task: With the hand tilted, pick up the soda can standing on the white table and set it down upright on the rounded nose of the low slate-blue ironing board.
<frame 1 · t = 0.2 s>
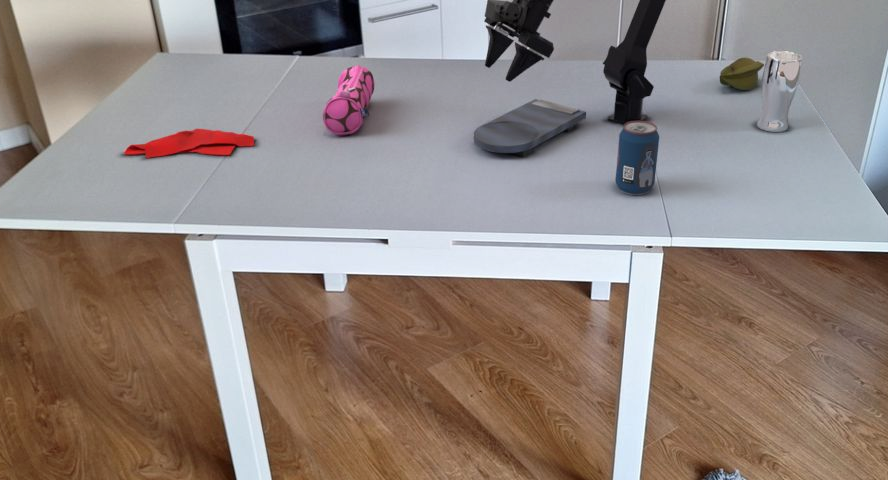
hand: (497, 73, 176), 15 cm above the table, tool tilted 30°, fingers open, 9 cm apart
beer glass: (772, 127, 187), on the table
cloth: (193, 145, 188), on the table
ironing board: (524, 137, 186), on the table
soda can: (634, 189, 164), on the table
pencil case: (352, 120, 197), on the table
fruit: (737, 87, 209), on the table
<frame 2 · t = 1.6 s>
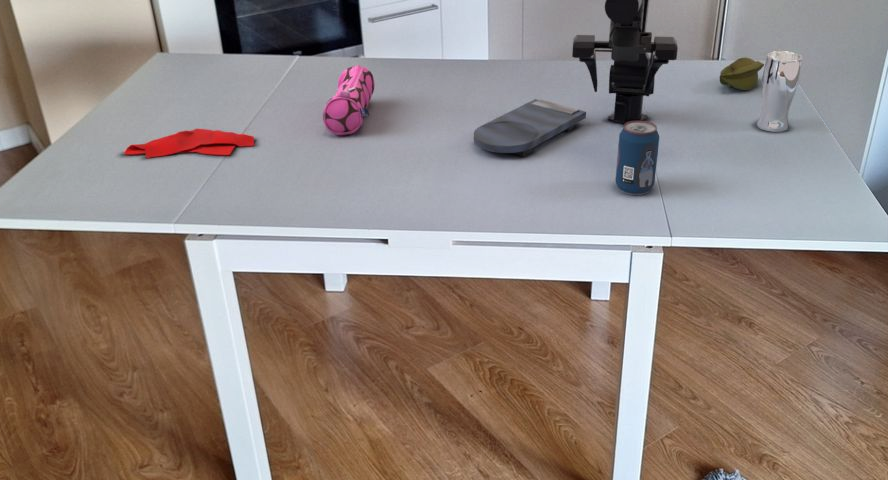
hand: (620, 92, 170), 13 cm above the table, tool pointing down, fingers open, 9 cm apart
nothing on the table moved.
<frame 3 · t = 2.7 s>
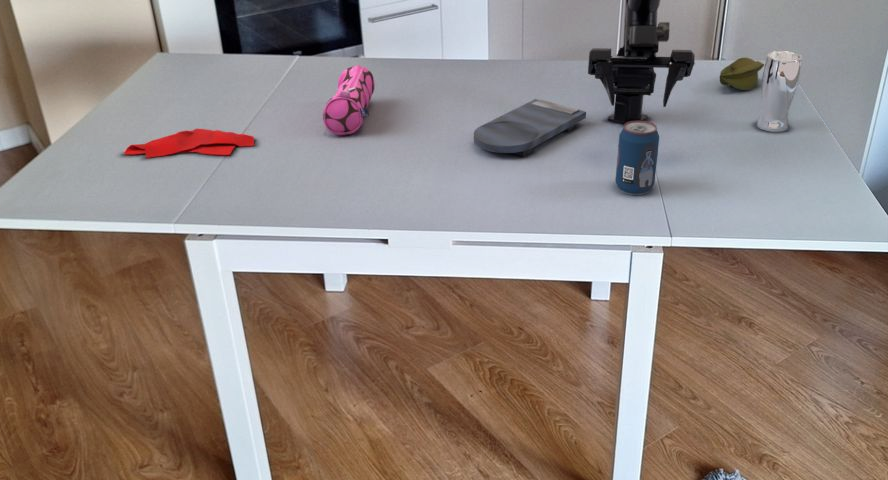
hand: (638, 105, 163), 13 cm above the table, tool tilted 45°, fingers open, 9 cm apart
nothing on the table moved.
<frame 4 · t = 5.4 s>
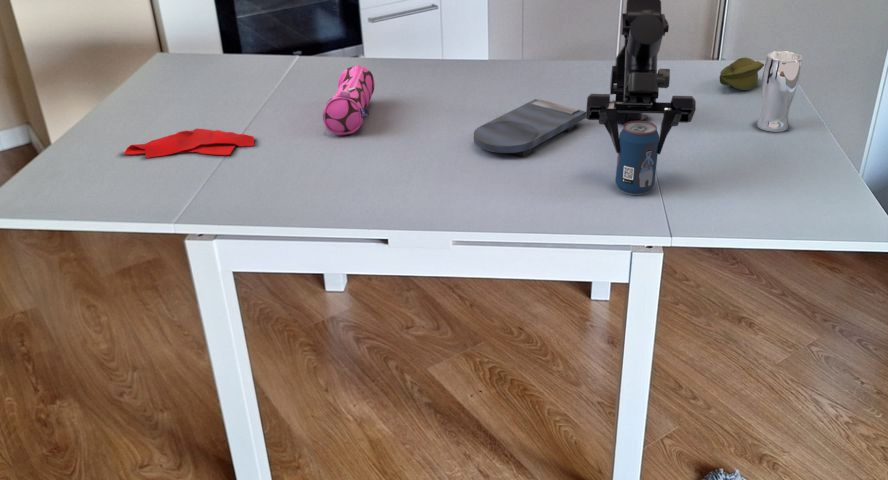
hand: (638, 152, 159), 8 cm above the table, tool tilted 45°, fingers closed on soda can, 7 cm apart
soda can: (634, 189, 164), on the table, touching gripper
everything else where it was.
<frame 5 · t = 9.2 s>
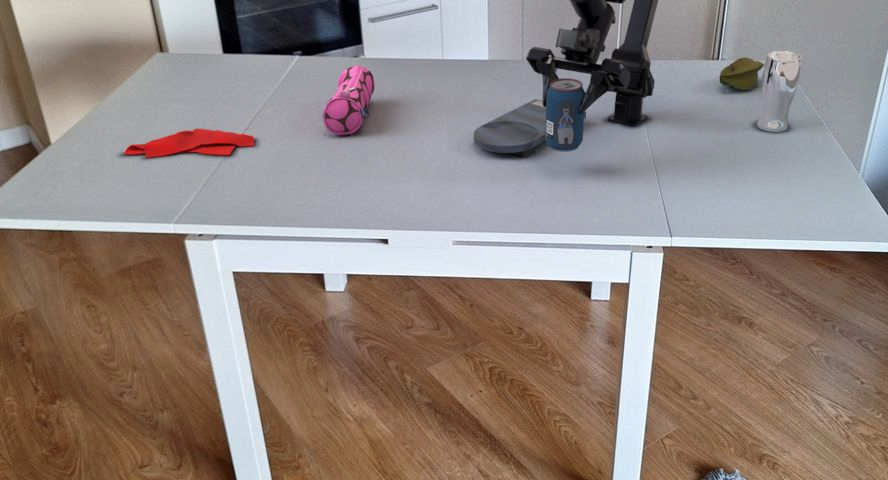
hand: (561, 109, 163), 13 cm above the table, tool tilted 45°, fingers closed on soda can, 7 cm apart
soda can: (563, 146, 168), point 5 cm above the table, touching gripper
everything else where it was.
when the fingers open (11 cm above the table, at t = 13.1 s): soda can stays where it is, resting on ironing board.
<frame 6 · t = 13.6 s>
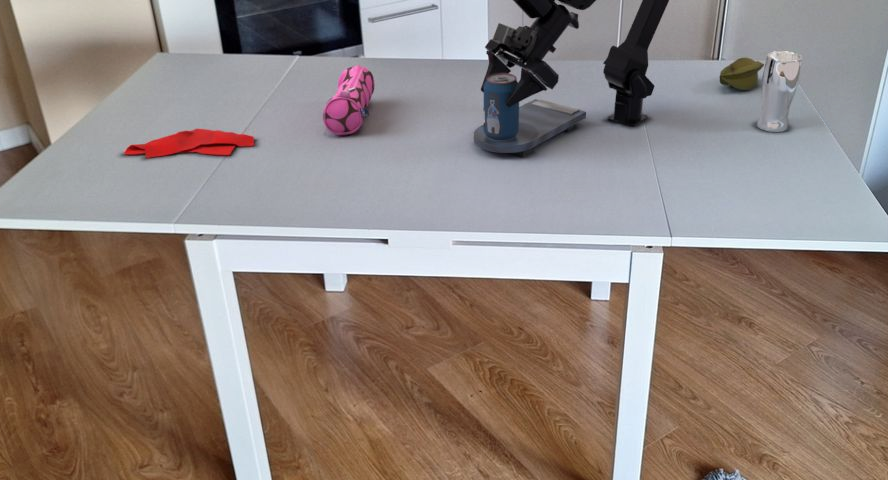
hand: (494, 98, 174), 11 cm above the table, tool tilted 45°, fingers open, 9 cm apart
soda can: (500, 137, 179), point 3 cm above the table, touching ironing board
everything else where it was.
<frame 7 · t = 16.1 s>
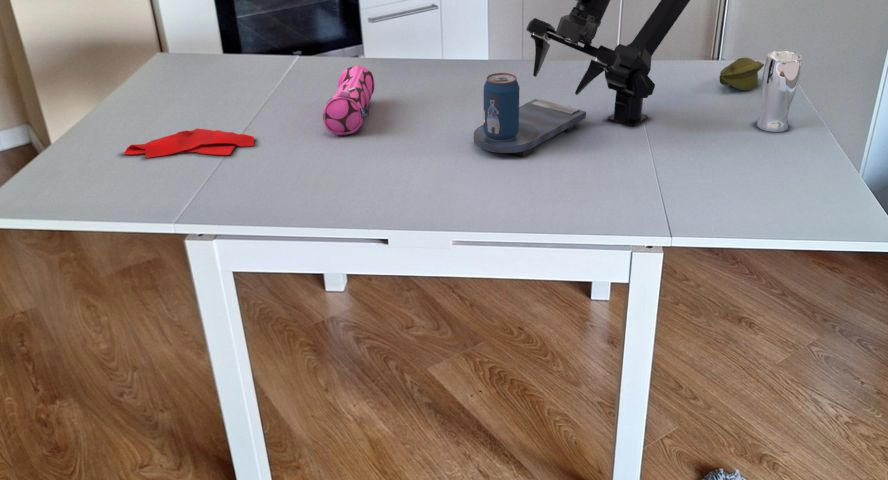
hand: (555, 85, 177), 12 cm above the table, tool tilted 30°, fingers open, 9 cm apart
nothing on the table moved.
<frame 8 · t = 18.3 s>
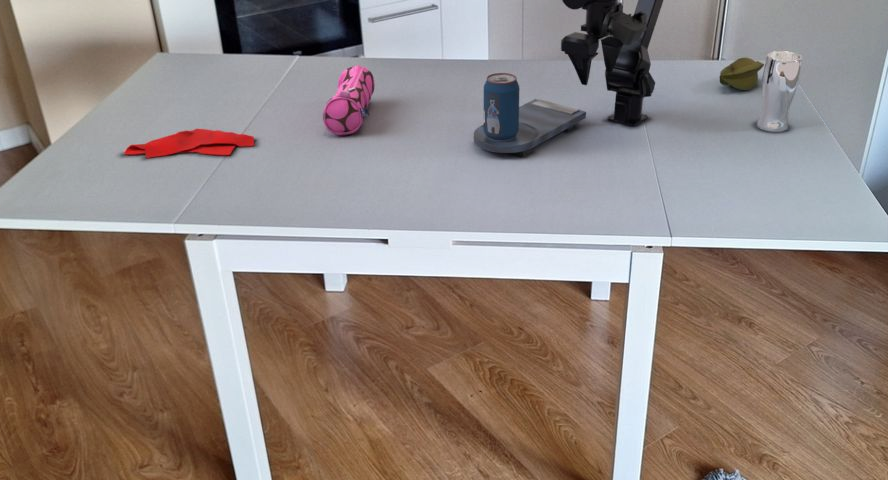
hand: (596, 78, 177), 13 cm above the table, tool pointing down, fingers open, 9 cm apart
nothing on the table moved.
at the end: soda can inside the target area on the ironing board (0.4 cm from its centre), point 2.8 cm above the ironing board's base; soda can tilted 0°; the gripper is holding nothing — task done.
